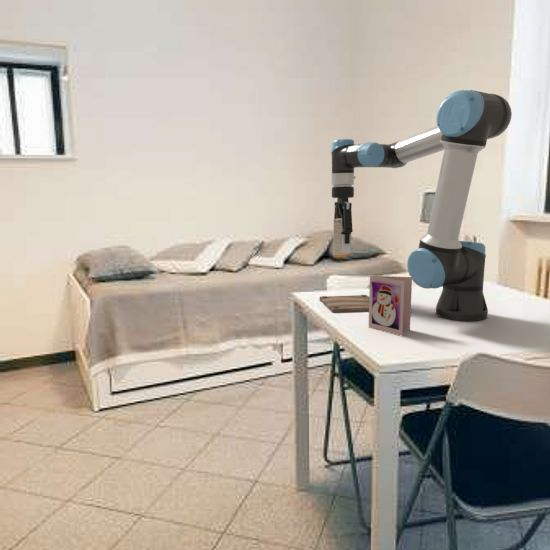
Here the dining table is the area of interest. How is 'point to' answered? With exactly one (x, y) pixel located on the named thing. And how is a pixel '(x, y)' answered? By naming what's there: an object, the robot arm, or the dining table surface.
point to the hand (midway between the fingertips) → (342, 251)
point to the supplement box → (338, 239)
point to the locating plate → (346, 303)
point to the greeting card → (390, 303)
